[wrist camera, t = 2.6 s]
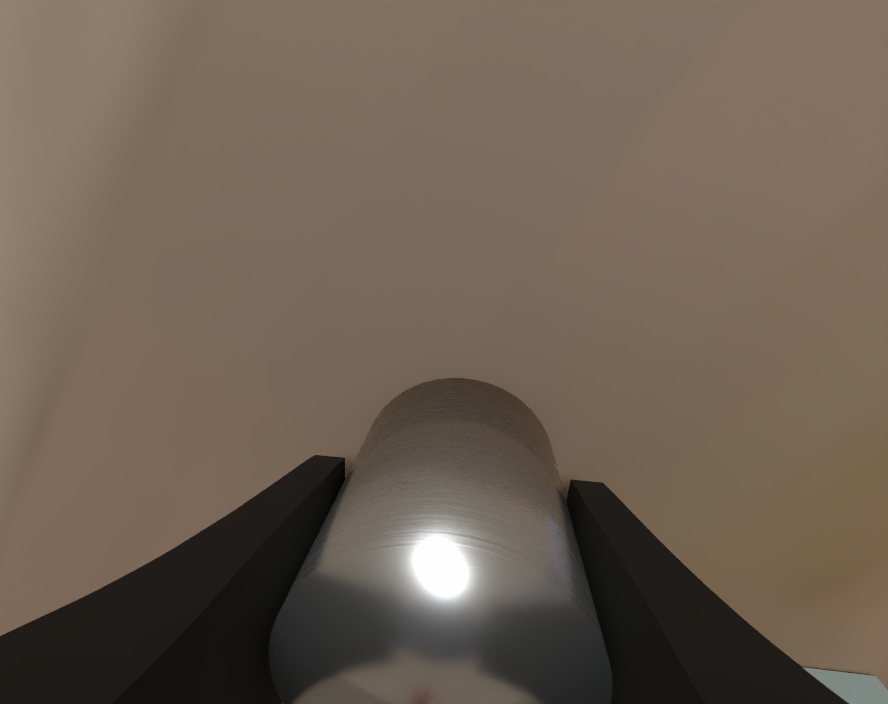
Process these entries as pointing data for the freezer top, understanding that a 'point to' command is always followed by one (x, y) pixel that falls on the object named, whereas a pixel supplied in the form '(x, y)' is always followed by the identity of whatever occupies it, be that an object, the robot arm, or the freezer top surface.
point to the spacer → (445, 568)
